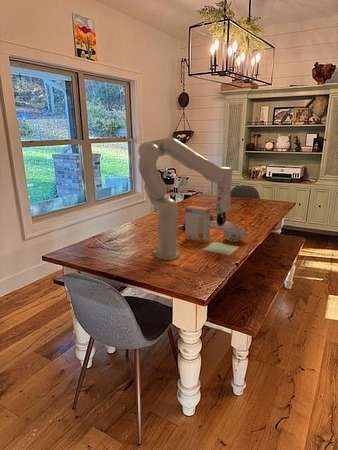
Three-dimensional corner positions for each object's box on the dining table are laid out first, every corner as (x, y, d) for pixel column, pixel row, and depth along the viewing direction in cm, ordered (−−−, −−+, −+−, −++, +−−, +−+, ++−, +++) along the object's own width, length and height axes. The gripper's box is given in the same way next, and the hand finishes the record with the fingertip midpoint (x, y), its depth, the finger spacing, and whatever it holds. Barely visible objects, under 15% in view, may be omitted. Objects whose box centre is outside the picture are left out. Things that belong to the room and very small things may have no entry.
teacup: (219, 242, 189) (220, 229, 187) (226, 236, 200) (226, 224, 198) (244, 246, 183) (245, 233, 180) (249, 240, 193) (250, 227, 191)
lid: (203, 226, 173) (204, 215, 172) (214, 220, 185) (215, 210, 183) (227, 231, 166) (228, 219, 164) (237, 225, 177) (238, 214, 176)
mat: (202, 249, 178) (202, 249, 178) (213, 242, 190) (213, 241, 190) (229, 255, 169) (229, 255, 169) (239, 247, 181) (239, 246, 181)
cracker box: (209, 241, 191) (211, 207, 185) (204, 244, 187) (205, 209, 181) (190, 237, 199) (190, 204, 193) (184, 239, 195) (185, 206, 188)
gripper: (223, 193, 161) (221, 227, 166) (235, 189, 174) (233, 221, 180) (210, 191, 165) (208, 225, 170) (223, 187, 178) (220, 219, 184)
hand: (221, 222), depth 175 cm, fingers closed on lid, 3 cm apart
